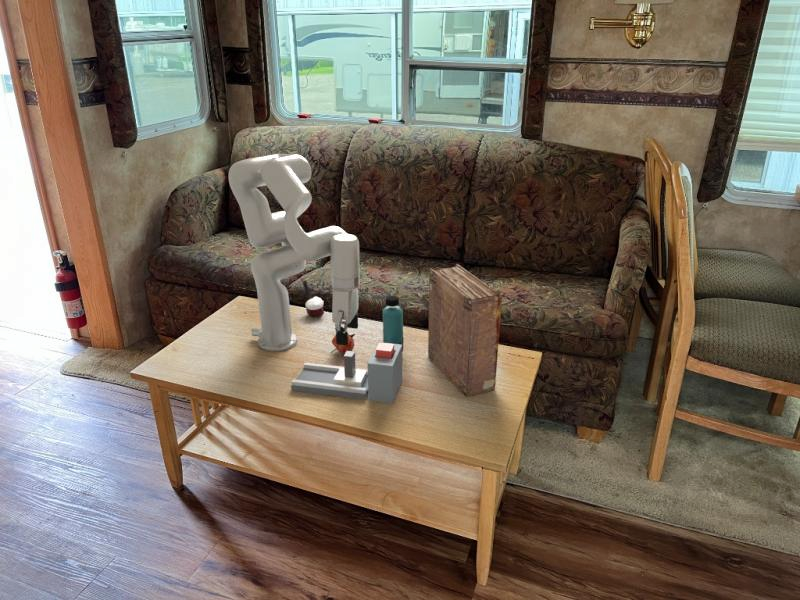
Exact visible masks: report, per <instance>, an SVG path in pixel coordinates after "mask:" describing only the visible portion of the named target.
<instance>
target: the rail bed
mask: <svg viewBox="0 0 800 600" xmlns="http://www.w3.org/2000/svg"><path fill="white" fill-rule="evenodd" d="M302 366H303V367H302V369H301V371H300V373H299V374H298V376H297V377H296V379H292V380H291V386H290V390H291V391H292V392H298V393H299V392H300V393H309V394H316V395H323V394H324V395H325V396H330V397H331V396H332V397H341V398H349V399H355V400H363V401H366V400H367V397H368V396H369V394H368V369H363V368H358V367H356V370H365V371H367V377H366V379H365V381H364V383H363V385H362V387H353V386H345V385H336V384H334V378H335V376H336V374H337V373H338V371H339V369H340V368H344V366H339V365H331V364H320V363H312V362H303V365H302Z"/></svg>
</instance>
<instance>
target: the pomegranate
mask: <svg viewBox="0 0 800 600" xmlns="http://www.w3.org/2000/svg"><path fill="white" fill-rule="evenodd" d="M354 336H356V333H352V334H349V333H348V345H347V346H346V345H338V344H336V334H335V335H334V336H333V338H332V340H331V343H332V345H333V346H334V347H335V349H334V350H332V351H331V352H330V354H332V353H333V352H335V351H338V352H339V353H341V355H343V356H344V355H345V353H346V351H353V350H354V348H355V340H354V338H353V337H354Z"/></svg>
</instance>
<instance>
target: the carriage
mask: <svg viewBox="0 0 800 600" xmlns="http://www.w3.org/2000/svg"><path fill="white" fill-rule="evenodd" d="M343 367H344V368H340V369H339V371H338V373H337V374H336V376H335V378H334V384H336V385H345V386H353V387H362V385H363V383H364V381H365V379H366V377H367V371H365V370H356V368H357V367H356V351H353V350H352V351H346V353H345V355H343Z"/></svg>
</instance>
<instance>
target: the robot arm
mask: <svg viewBox="0 0 800 600" xmlns="http://www.w3.org/2000/svg"><path fill="white" fill-rule="evenodd" d="M311 177H312V168H311V165H310V163H309V161H308V160H307V159H306V158H305V157H303V155H300V154H296V153H295V154H293V153H292V154H291V153H275V154H268V155H262V156H256V157H251V158H246V159H242V160H239V161H237V162H235V163H233V164H232V165H231V167H230V168H229V171H228V182H229V187H230V189H231V191H232V194H233V195H234V198H235V200H236V201H237V203H238V205H239V209H240V213H241V216H242V221H243V222H244V227H245V231H246V234H247V238H248V241H249V243H250V244H251V246H252V247H254V248H256V249H262V248H267V247H270V246H274V245H277V244H280V243H281V246H280V247H276V248H273V249H269V250H266V251H263V252H260V253H259V254H257V255H255V256H254V257H253V258H252V260H251V263H250V269H251V273H252V276H253V280H254V282H255V287H256V292H257V293H256V294H257V301H258V308H259V309H258V311H259V317H260V318H259V319H260V327H254V326H253V327H251V329H250V330H251V336H252V337H258V340H257V343H258V347H259V348H260V349H261V350H264V351H268V352H280V351H285V350H288V349H291V348H293V347H294V346H295V345H296V344H297V342H298V336H297V335H296V334H295V332H293V331H292V321H291V320H292V319H291V309H290V298H289V291H288V288H287V287H286V286H285V285H284V284H282V283H281V281H282V280H283V279H285V278H288V277H291V276H294V275H297V274H299V273H302V272H303V271H304V270H305V268H306V265H307V262H314V261H317V260H320V259H323V258H326V257H330V270H331V271H330V272H331V273H330V274H331V287H332V288H333V291H332V302H331V303H332V306H331V307H332V308H331V309H332V312H331V313H332V315H331V316H332V319H331V321H332V323H333V324H334V327H335V328H334V330H335V335H336V344H338V345H346V346H347V345H348V334H349V332H348V329H359V317H358V314H359V311H358V310H359V289H358V288H360V287H361V281H360V280H361V278H360V277H361V273H360V272H361V271H360V270H361V269H360V266H361V265H360V241H359V239H358V237H357V236H356V235H354V234H350V233H347V232H346V231H345V230H344V229H343V228H341V227H340V226H336V225H330V226H327V227H323V228H319V229H316V230H312V231H309V232H305V230H304V229H303V228H302V226H301V225H300V223H299V221H298V218H299V217H300V216H301V215H303V213H304V212H305V211H306V210H307V209H308V208H309V207H310V205H311V204H312V200H313V197H312V194H311V193H310V191H309V190H308V188H307V187H306V186H305V183H307V182H309V181H310V179H311ZM265 186H266V187H267V188H268V190H269V191H270V193H271V194H272V195H273V197H274V198H275V199H276V201H277V202H278V204H279V205H280V206H281V207H282V209H283V210H280V211H276V212H272V211H271V209H270V205H269V201H268V199H267V197H266V196H265V195H264V193H262V191H261V190H259V189H258V188H259V187H265ZM342 325H344V327H343V326H342Z"/></svg>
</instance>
